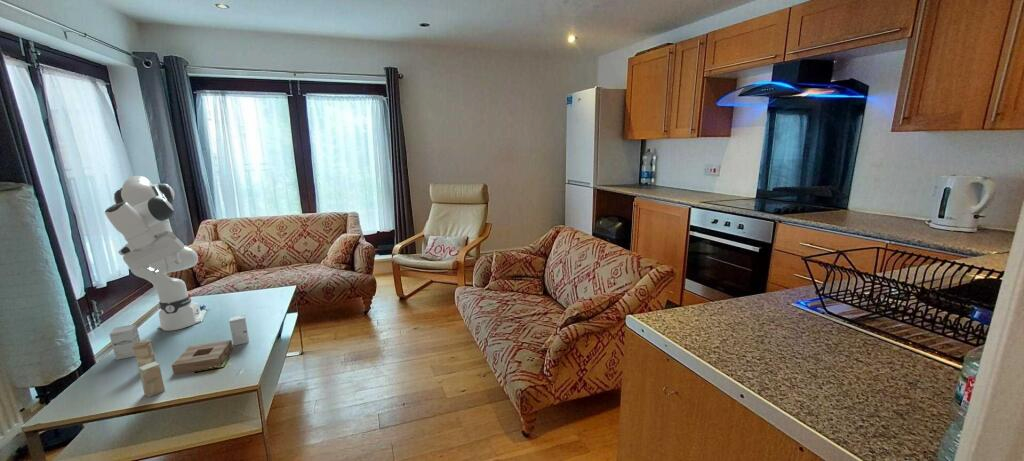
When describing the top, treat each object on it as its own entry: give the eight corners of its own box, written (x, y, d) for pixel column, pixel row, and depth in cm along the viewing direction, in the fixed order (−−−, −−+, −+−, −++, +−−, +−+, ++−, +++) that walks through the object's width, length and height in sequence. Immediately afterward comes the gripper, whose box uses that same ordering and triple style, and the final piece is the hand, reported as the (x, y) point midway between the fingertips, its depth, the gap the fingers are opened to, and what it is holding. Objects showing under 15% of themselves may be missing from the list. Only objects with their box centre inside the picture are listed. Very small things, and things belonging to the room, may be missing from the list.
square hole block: (191, 354, 179) (189, 346, 178) (233, 348, 184) (231, 339, 183) (173, 374, 164) (171, 365, 163) (219, 366, 169) (217, 357, 168)
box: (148, 397, 150) (141, 370, 147) (144, 394, 152) (136, 367, 149) (166, 390, 154) (159, 363, 151) (161, 386, 156) (154, 360, 154)
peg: (145, 367, 170) (138, 341, 167) (157, 365, 171) (150, 339, 168) (139, 373, 166) (131, 346, 163) (152, 371, 167) (145, 344, 164)
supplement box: (115, 360, 176) (108, 334, 173) (121, 353, 183) (114, 327, 180) (137, 356, 180) (130, 329, 177) (143, 348, 186) (136, 323, 183)
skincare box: (233, 346, 185) (228, 321, 183) (234, 342, 189) (229, 317, 186) (249, 342, 188) (244, 318, 186) (249, 338, 192) (244, 314, 189)
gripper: (173, 226, 168) (196, 254, 173) (123, 248, 165) (147, 275, 171) (166, 231, 162) (189, 260, 167) (113, 254, 159) (139, 282, 165)
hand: (168, 268), depth 169 cm, fingers open, 8 cm apart
